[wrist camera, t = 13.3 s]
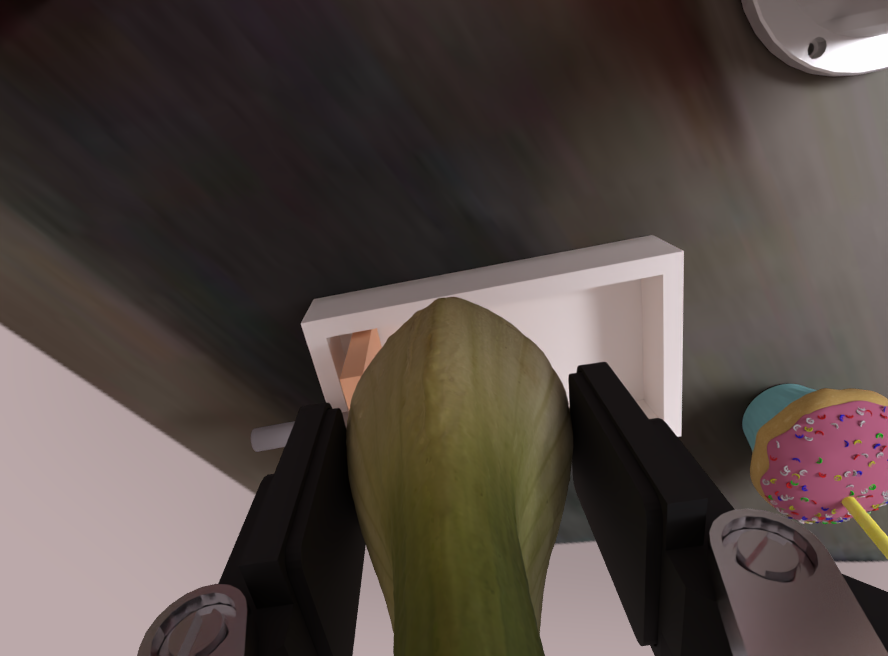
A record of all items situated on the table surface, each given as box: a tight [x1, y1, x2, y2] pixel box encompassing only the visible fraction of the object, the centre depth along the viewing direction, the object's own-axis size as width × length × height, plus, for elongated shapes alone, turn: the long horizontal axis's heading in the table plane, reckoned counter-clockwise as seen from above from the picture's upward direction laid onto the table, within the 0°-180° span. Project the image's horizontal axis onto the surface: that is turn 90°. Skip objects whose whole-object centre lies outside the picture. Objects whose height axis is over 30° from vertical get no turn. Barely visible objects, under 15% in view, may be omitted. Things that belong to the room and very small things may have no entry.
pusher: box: [251, 328, 382, 452], centre depth 26 cm, size 7×8×7 cm
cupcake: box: [742, 384, 888, 559], centre depth 27 cm, size 9×8×12 cm
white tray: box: [301, 235, 684, 437], centre depth 28 cm, size 19×11×4 cm, turn 100°
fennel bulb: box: [346, 297, 573, 656], centre depth 8 cm, size 6×5×12 cm
